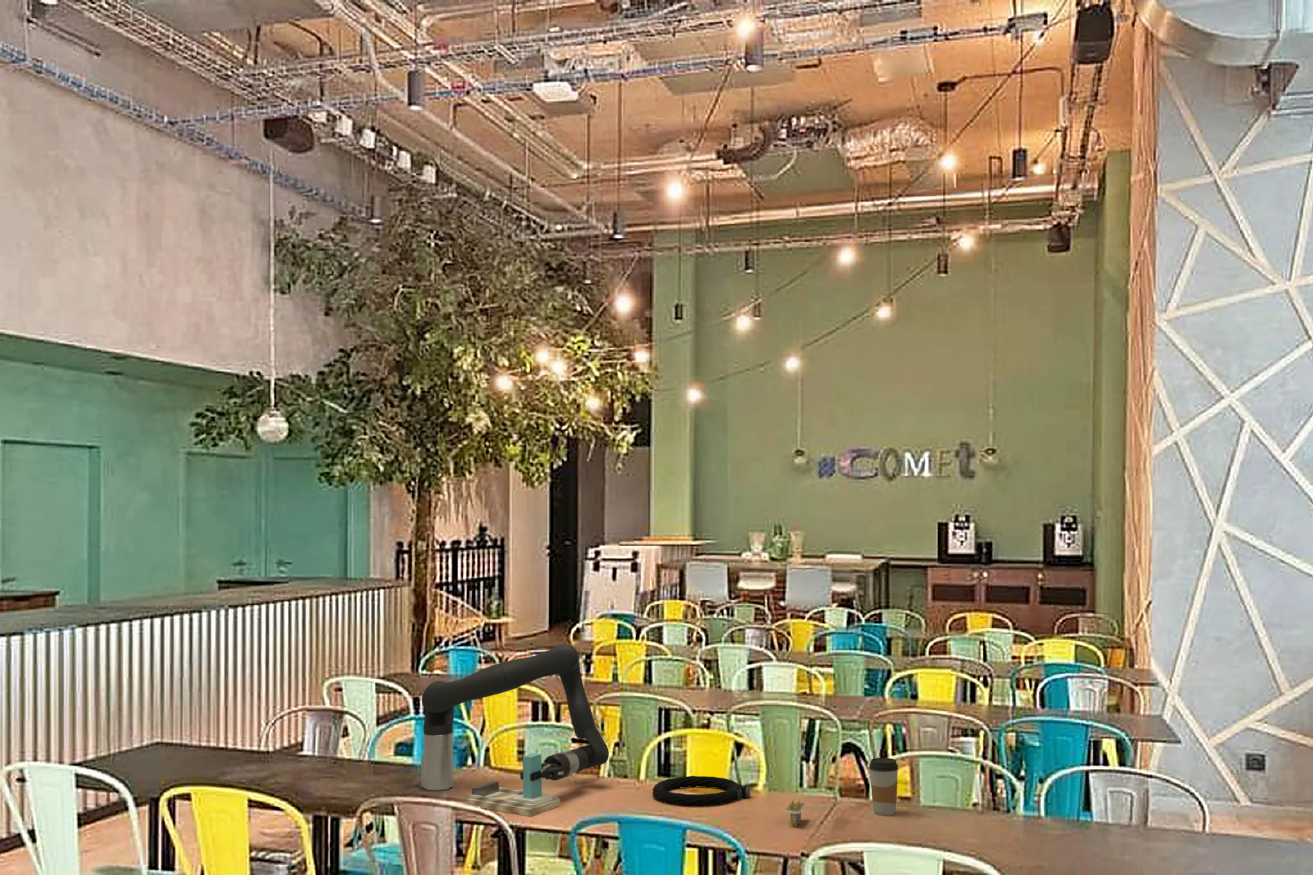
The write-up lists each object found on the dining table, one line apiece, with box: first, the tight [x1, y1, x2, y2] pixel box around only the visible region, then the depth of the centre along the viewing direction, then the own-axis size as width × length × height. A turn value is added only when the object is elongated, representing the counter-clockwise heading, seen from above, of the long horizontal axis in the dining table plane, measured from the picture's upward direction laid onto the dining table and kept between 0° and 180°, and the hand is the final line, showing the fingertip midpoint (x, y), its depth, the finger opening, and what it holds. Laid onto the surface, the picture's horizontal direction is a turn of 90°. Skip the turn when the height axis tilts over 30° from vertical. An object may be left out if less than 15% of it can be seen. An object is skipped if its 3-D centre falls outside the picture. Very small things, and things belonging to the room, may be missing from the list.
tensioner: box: [512, 752, 554, 806], centre depth 364 cm, size 8×9×14 cm
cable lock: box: [651, 775, 751, 807], centre depth 377 cm, size 28×4×30 cm
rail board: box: [464, 780, 561, 817], centre depth 368 cm, size 25×14×5 cm, turn 58°
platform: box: [785, 798, 805, 828], centre depth 345 cm, size 12×18×7 cm, turn 164°
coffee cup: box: [868, 757, 899, 817], centre depth 355 cm, size 8×8×15 cm
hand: (526, 776), depth 362 cm, fingers closed on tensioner, 3 cm apart
